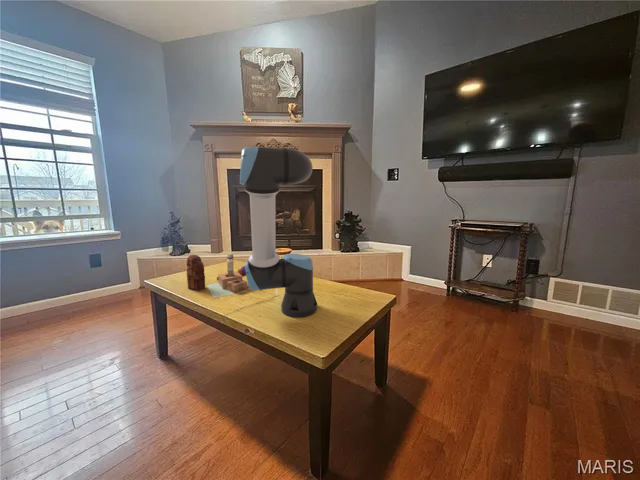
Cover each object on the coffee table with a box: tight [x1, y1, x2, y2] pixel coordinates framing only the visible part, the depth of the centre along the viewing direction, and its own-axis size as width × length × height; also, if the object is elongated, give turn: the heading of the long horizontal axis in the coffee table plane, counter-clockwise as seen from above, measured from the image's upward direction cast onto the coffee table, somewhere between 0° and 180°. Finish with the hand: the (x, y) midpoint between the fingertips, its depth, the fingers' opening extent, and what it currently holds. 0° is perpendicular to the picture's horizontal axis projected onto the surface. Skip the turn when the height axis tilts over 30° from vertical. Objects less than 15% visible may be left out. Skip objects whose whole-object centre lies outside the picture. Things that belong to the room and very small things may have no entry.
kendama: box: [216, 265, 246, 282], centre depth 150 cm, size 6×6×20 cm
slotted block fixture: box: [206, 271, 248, 299], centre depth 131 cm, size 20×16×6 cm
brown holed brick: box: [227, 279, 248, 294], centre depth 129 cm, size 7×7×4 cm
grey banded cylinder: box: [226, 253, 235, 277], centre depth 135 cm, size 3×3×16 cm
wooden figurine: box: [186, 254, 206, 292], centre depth 131 cm, size 12×6×18 cm, turn 56°
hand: (260, 235), depth 135 cm, fingers open, 13 cm apart
